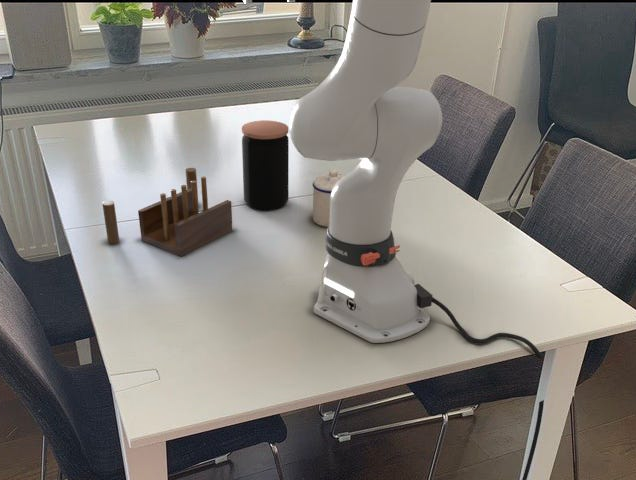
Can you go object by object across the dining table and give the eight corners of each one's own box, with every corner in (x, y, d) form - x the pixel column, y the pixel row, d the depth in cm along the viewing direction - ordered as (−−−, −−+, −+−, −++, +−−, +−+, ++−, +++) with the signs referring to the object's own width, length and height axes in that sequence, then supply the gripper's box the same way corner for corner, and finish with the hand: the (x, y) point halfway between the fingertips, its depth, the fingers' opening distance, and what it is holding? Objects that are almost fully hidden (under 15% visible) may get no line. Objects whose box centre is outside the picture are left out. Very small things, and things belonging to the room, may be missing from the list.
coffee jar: (297, 202, 181) (298, 127, 171) (266, 215, 175) (264, 138, 165) (266, 190, 187) (265, 117, 177) (234, 202, 181) (231, 127, 170)
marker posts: (200, 206, 179) (198, 169, 174) (113, 245, 161) (107, 206, 156) (193, 203, 180) (190, 166, 175) (105, 242, 162) (99, 203, 157)
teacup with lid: (355, 226, 171) (358, 177, 164) (316, 229, 169) (317, 179, 163) (343, 205, 180) (345, 157, 174) (305, 208, 179) (306, 160, 172)
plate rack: (232, 230, 168) (230, 181, 162) (181, 256, 158) (176, 204, 151) (193, 216, 174) (189, 168, 167) (141, 240, 164) (135, 190, 157)
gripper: (229, -59, 143) (224, 11, 154) (329, -60, 149) (318, 7, 160) (220, -75, 146) (216, -5, 157) (319, -76, 152) (309, -9, 163)
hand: (269, 1), depth 158 cm, fingers open, 8 cm apart
